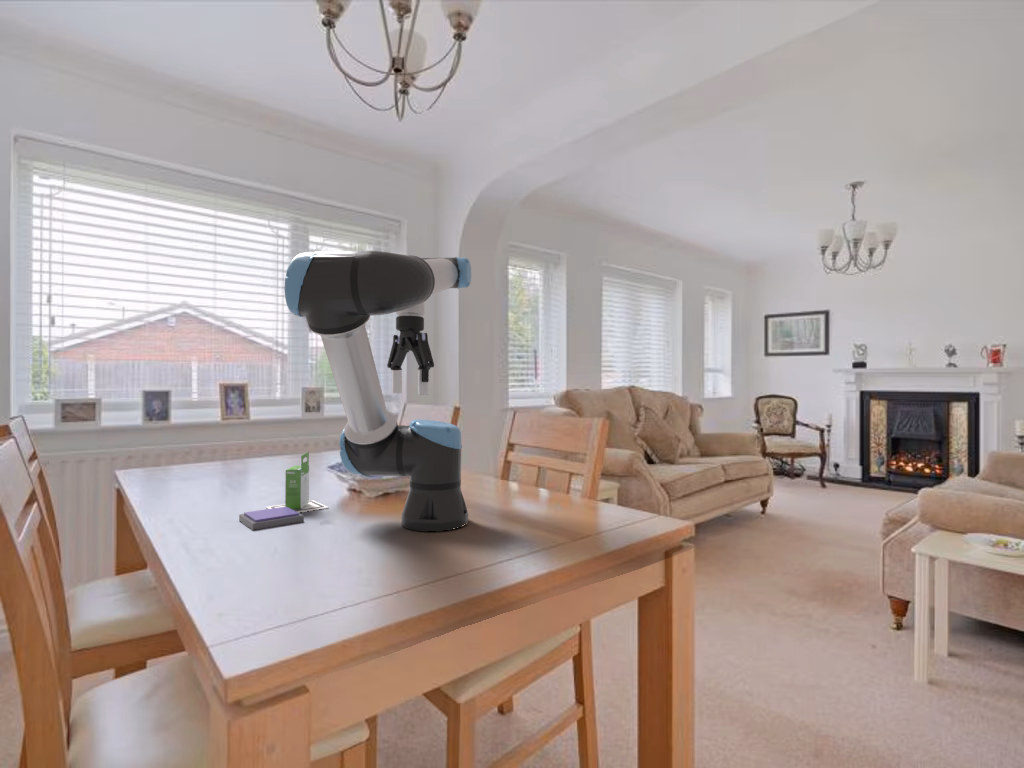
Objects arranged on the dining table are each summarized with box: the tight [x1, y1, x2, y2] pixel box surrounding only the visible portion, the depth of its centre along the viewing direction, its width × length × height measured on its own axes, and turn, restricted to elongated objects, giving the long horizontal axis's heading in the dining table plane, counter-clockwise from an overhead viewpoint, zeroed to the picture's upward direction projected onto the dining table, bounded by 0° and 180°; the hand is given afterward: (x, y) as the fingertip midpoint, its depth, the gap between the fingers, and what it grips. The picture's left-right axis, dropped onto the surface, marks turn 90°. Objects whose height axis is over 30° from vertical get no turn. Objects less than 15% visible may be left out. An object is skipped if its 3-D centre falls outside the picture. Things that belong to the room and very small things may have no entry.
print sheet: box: [265, 499, 330, 514], centre depth 137 cm, size 10×12×1 cm
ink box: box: [284, 451, 310, 510], centre depth 137 cm, size 7×4×13 cm, turn 4°
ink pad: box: [238, 507, 305, 531], centre depth 125 cm, size 10×11×2 cm
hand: (409, 394), depth 148 cm, fingers open, 13 cm apart
